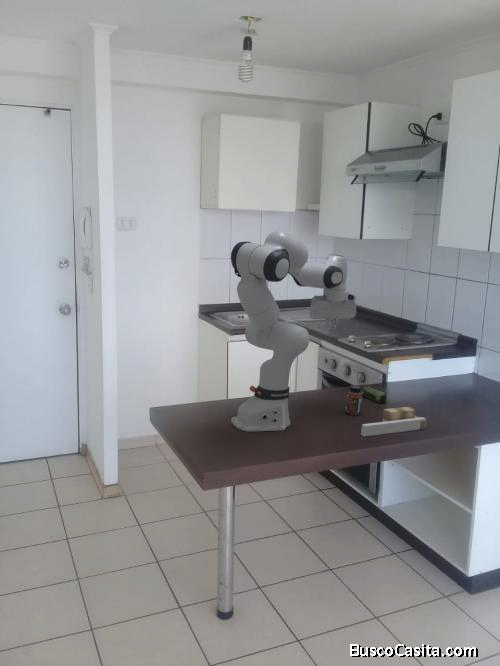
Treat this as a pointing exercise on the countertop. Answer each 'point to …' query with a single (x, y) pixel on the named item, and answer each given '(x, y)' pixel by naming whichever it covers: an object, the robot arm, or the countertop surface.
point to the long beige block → (398, 414)
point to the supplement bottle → (354, 401)
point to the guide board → (393, 426)
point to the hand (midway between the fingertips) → (331, 329)
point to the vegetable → (373, 394)
